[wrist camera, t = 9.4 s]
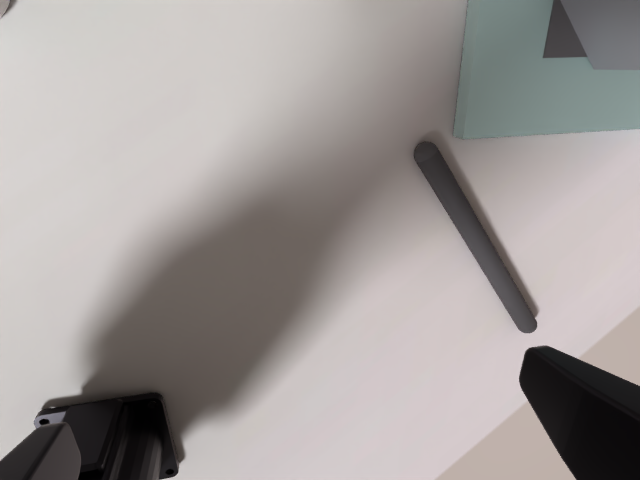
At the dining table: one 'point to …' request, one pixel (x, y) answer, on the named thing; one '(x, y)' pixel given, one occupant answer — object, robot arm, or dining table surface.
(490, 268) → the dark grey bar
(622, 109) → the teal flat square slab
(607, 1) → the light grey rectangular block
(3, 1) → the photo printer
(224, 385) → the dining table surface
